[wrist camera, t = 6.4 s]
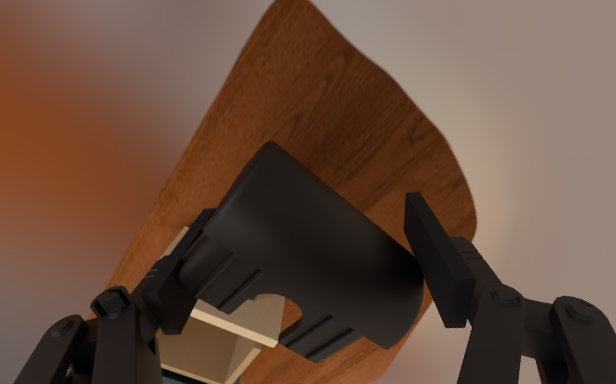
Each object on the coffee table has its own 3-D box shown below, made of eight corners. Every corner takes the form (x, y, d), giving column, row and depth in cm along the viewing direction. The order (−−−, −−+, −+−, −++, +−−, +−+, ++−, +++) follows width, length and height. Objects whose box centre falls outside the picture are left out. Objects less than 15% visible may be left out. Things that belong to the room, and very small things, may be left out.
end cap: (404, 225, 17) (447, 321, 11) (328, 282, 20) (329, 384, 14) (281, 120, 14) (249, 173, 8) (212, 204, 17) (152, 289, 11)
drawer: (197, 198, 28) (149, 253, 20) (305, 250, 31) (300, 317, 23) (159, 286, 35) (112, 353, 27) (251, 323, 38) (232, 394, 30)
